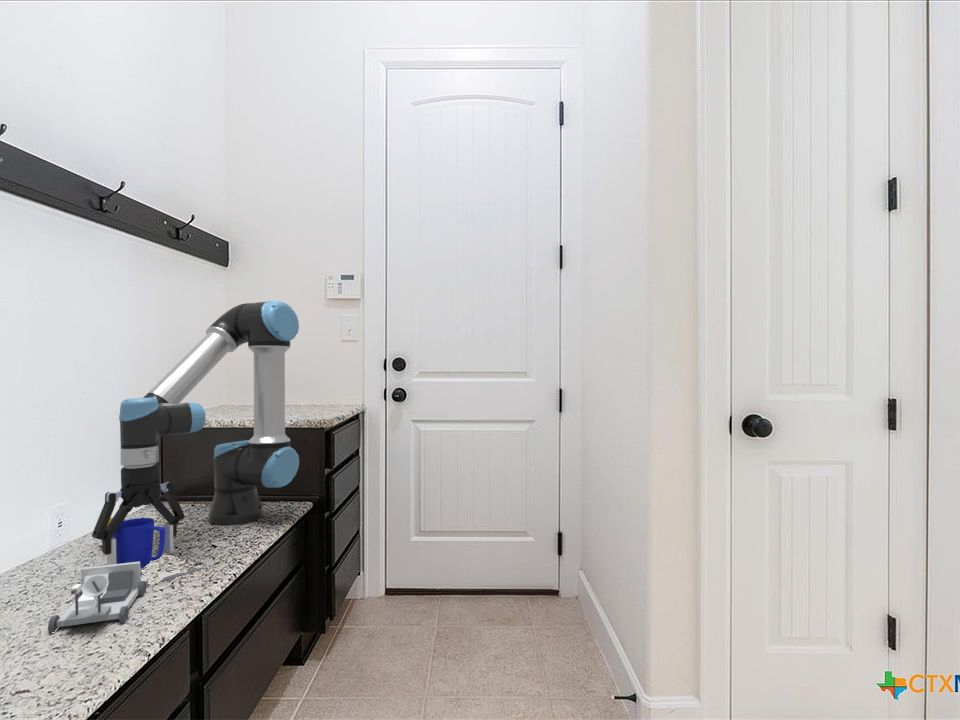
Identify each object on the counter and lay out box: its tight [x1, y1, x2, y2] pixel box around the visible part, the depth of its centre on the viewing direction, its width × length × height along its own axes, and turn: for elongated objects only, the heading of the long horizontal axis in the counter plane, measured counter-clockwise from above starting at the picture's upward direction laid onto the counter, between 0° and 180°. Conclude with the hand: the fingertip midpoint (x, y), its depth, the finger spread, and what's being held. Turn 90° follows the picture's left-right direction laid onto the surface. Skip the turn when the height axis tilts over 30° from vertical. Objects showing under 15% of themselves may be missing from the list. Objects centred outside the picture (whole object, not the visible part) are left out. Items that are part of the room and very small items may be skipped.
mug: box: [113, 517, 165, 568], centre depth 129 cm, size 8×12×10 cm
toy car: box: [47, 562, 147, 634], centre depth 105 cm, size 18×10×12 cm
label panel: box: [140, 565, 208, 588], centre depth 127 cm, size 16×18×1 cm
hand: (141, 559), depth 129 cm, fingers open, 12 cm apart
